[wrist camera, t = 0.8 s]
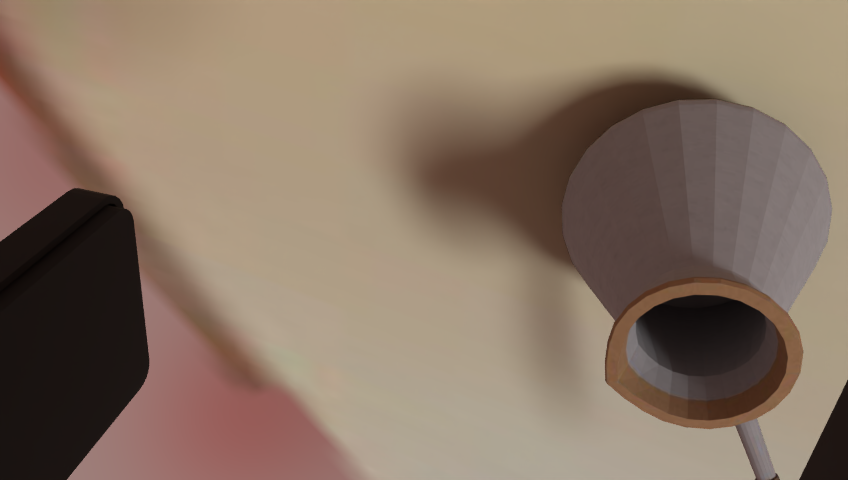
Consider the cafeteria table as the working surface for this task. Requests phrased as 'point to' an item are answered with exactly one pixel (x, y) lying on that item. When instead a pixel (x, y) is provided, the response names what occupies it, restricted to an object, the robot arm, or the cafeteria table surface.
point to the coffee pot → (700, 259)
